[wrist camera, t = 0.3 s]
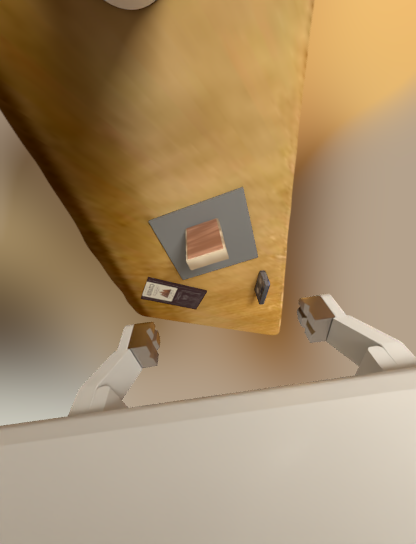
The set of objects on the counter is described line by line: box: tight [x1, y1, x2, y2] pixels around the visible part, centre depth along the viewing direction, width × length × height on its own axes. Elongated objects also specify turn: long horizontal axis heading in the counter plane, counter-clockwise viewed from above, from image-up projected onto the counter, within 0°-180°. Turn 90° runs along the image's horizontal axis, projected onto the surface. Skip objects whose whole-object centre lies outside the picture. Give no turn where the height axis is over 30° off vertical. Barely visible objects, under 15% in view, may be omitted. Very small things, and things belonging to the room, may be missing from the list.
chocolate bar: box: [141, 277, 207, 309], centre depth 66 cm, size 9×1×18 cm
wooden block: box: [186, 218, 229, 270], centre depth 47 cm, size 3×8×12 cm, turn 108°
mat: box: [149, 187, 258, 280], centre depth 54 cm, size 20×22×1 cm
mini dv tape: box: [255, 271, 270, 304], centre depth 64 cm, size 8×2×6 cm, turn 178°
